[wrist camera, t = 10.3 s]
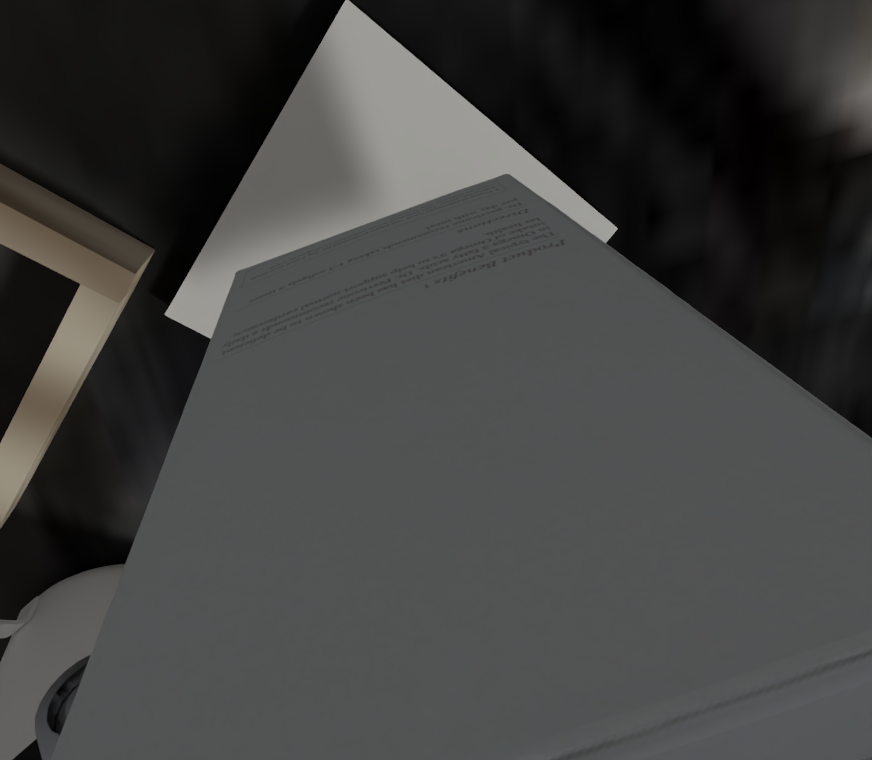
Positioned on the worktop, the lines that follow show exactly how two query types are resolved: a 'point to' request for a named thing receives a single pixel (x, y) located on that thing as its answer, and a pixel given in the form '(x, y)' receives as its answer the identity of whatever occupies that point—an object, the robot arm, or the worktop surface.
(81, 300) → the wooden frame
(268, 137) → the tile
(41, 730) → the robot arm
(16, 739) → the coffeepot
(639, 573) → the supplement box
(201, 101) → the worktop surface
